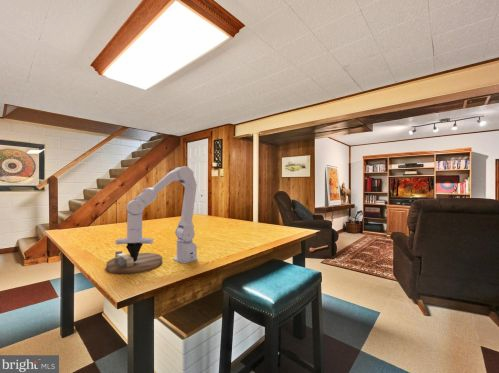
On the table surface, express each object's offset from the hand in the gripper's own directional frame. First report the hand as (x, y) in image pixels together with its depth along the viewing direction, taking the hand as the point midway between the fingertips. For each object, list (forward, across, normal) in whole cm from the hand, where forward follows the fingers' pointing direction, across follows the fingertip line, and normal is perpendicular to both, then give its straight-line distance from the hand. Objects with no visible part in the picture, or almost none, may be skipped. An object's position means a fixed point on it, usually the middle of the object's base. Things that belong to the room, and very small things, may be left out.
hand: (134, 260), depth 99 cm
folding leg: (+1, +5, -1) cm, 5 cm away
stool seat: (+3, +1, -4) cm, 5 cm away
